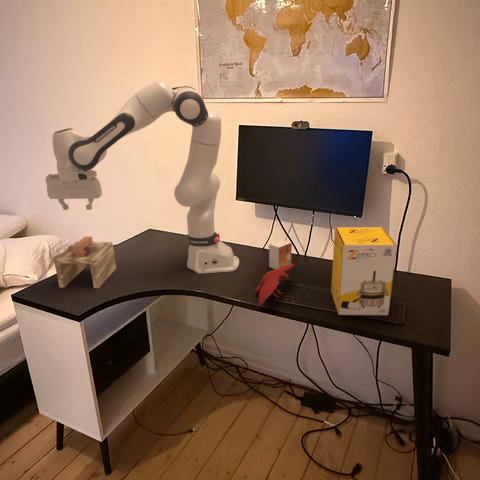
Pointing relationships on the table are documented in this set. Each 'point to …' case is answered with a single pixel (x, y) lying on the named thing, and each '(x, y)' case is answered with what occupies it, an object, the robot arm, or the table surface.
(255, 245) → the table surface
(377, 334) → the table surface
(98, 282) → the wooden stand
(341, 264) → the packaging box
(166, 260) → the table surface
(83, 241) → the arch block
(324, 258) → the table surface
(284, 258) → the small box
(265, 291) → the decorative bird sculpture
